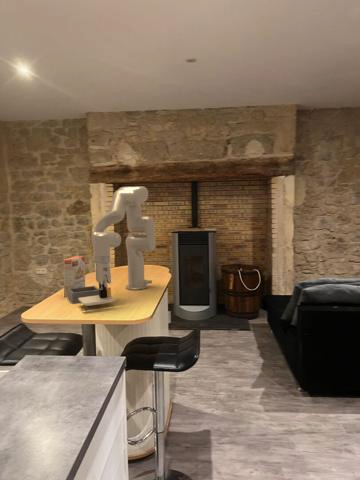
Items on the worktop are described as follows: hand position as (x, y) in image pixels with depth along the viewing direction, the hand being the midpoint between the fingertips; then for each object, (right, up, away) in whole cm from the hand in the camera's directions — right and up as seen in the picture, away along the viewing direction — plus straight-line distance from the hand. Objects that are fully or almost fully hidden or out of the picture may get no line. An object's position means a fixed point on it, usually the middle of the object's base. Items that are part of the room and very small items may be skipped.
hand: (103, 297), depth 169 cm
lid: (-3, -2, -1) cm, 4 cm away
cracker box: (-20, -3, +24) cm, 31 cm away
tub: (-12, -4, +12) cm, 18 cm away
